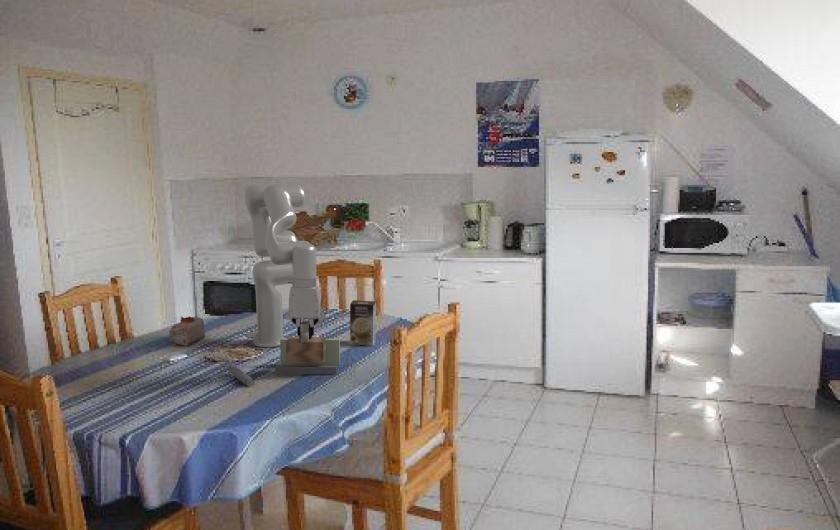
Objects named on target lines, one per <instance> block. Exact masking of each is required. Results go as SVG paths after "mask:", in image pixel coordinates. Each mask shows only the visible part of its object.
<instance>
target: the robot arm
mask: <svg viewBox="0 0 840 530" xmlns="http://www.w3.org/2000/svg"><path fill="white" fill-rule="evenodd" d="M244 202H245V206H246V208H247V211H248V214H249V217H250V219H251V220H250V221H251V225H252V237H253V247H254V252H255V254H256V255H257V256H258V257H261V258H264V257H265V258H269V259H268V260H267V259H266V260H262V261H258V262H256V263H255V264H254V265H253V267H252V278H253V282H254V289H255V301H256V302H255V304H256V305H255V306H256V329H257V330H256V331H254V332H252V331H246V333H245V337H246V338H247V339H253V343H252V344H253V345H254V346H256V347H259V348H277V347H280V339H281V338H286V339H288V338H287V337H285V336H284V319H283V318H284V314H283V297H282V295H281V293H280V291H279V290H277V287H276V286H281V285H282V286H283V285H292V286H290V288H289V294H288V296H289V297H288V312H287V314H286V316H285V319H286V320H288V321H291V322H292V323H293V324H294V325H295V326H296V328H297V333H296V334H297V337H299V339H301V332H300V324H301V323H302V319H309V321H310V325H309V339H311V338H312V337H315V336H314V335H315V325H317V324H318V322H320V321H322V320H325V319H326V316H325V314H324V312H323V309H322V302H321V301H322V298H321V293H320V287H319V285H317V248H316V247H315V245H313V244H311V243H310V242H309V241H307V240H298V238H297V236H296V233H294V232H293V231H292V230H289V229H291V228H292V227H293V226H294V225H295V224H296V222H297V219H298V218H297V214H296V212H295V210H294V208H302V207H303V206H304V205H305V203H306V192H305V190H304V188H303V187H302V185H300V184H298V183H290V182H284V183H283V182H278V183H273V182H272V183H268V182H266V183H265V182H264V183H254V184H250V185H249V186H248V187H246V189H245V192H244Z"/></svg>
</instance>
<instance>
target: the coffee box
mask: <svg viewBox="0 0 840 530" xmlns="http://www.w3.org/2000/svg"><path fill="white" fill-rule="evenodd" d="M349 308H350V310H349V314H350V315H349V318H350V320H349V322H350V325H349V330H350V331H349V339H350V340H349V345H350V346H360V345H365V346H364V347H374V345H375V343H376V342H375V341H376V335H377V334H376V333H377V331H376V329H377V328H376V327H377V326H376V325H377V324H376V321H377V319H376V318H377V313H376V312H377V310H376V309H377V302H376V300H373V301H371V300H358V299H357V300H355V299H353V300H352V301H351V302H350V304H349Z"/></svg>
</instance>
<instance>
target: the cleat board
mask: <svg viewBox="0 0 840 530" xmlns="http://www.w3.org/2000/svg"><path fill="white" fill-rule="evenodd" d="M286 338H287V337H286ZM286 338H281V339H280V346H279V347H280V350H279V352H280V353H279V354H280V364H278V365H275V366H274V371H275V372H274V373H275V375H337V374H338V366H341V341H340V338H326V358H325V361H324V363H287V358H286V341H287V340H288V338H287V339H286Z"/></svg>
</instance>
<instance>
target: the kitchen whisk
mask: <svg viewBox="0 0 840 530" xmlns="http://www.w3.org/2000/svg"><path fill="white" fill-rule="evenodd" d="M215 348H219V349H221V346H214V347H211V348H209V349H210V353H207V354H206V355H207V356H206V359H205V360H206V361H208V359H207V358H208V357H209V359H210V360H209V361H208V363H209V364H211V365H213V366H216V367H217V368H218V369H219V370H221V369H222V370H225V371H228V372H229V373H230V374H231V375H232V376H234V377H235V378H236V379H237V380H239V381H240V382H241V383H242V384H244V385H245V386H246V385H247V387H251V386H250V385H252V386H253V387H252V388H255V385H254V384H255V381H254V379H253V378H252V377H251V376H249V375H248V374H247V373H245V372H244V371H243V370H241V369H240V368H239V367H237V365H235V364H234V363H233V361H232V358H231V356H230V355H228V352H227V351H225V350H224V349H222V351H223V353H224V354H225V355H226V357H224V356H223V355H220V353H219V352H217V349H215ZM211 349H212V350H211ZM210 354H211V355H210ZM214 354H215V355H218V356H220V357H221V358H222V359H224V360H225V361H226V362H227V363H228V362H229V363H228V365H227V364H224V363H222V362H220V361H219V360H218V359H216V357H215V356H214ZM212 356H213V357H212ZM211 358H212V359H214V360H215V361H216V362H218V364H222V365H223V366H221V367H220V366H218V365H216V364H214V363H212V359H211Z"/></svg>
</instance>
